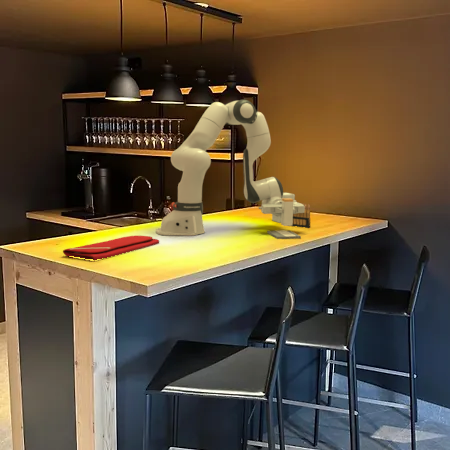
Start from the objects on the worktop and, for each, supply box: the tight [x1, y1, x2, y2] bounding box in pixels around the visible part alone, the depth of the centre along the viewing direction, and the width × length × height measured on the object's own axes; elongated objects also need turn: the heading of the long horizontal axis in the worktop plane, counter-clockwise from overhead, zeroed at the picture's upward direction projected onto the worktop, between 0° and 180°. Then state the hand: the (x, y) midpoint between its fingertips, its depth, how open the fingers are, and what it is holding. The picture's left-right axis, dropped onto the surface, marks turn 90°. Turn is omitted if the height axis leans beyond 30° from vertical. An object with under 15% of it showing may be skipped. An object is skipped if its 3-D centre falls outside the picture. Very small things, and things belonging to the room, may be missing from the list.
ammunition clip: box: [291, 203, 311, 229], centre depth 287 cm, size 11×2×12 cm, turn 57°
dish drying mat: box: [62, 235, 160, 260], centre depth 224 cm, size 16×41×4 cm, turn 152°
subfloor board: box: [267, 229, 302, 240], centre depth 262 cm, size 11×15×1 cm
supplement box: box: [271, 192, 296, 224], centre depth 303 cm, size 9×9×15 cm
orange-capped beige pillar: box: [280, 198, 293, 227], centre depth 260 cm, size 4×4×12 cm
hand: (287, 211), depth 259 cm, fingers closed on orange-capped beige pillar, 4 cm apart
